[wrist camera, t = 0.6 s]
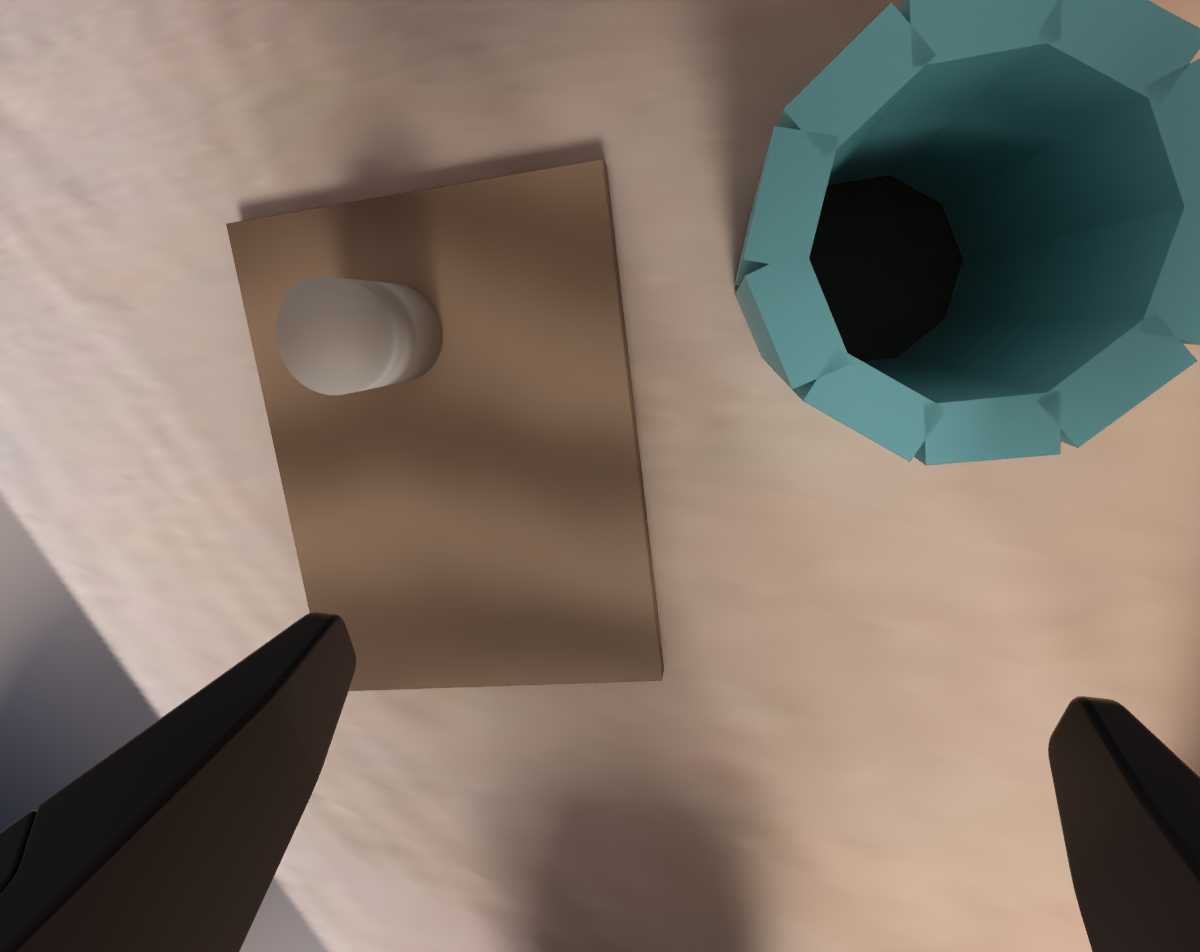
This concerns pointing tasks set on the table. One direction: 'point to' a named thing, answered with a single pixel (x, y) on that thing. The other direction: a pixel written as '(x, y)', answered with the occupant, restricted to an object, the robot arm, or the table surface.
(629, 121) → the table surface
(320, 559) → the peg board
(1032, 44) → the teal collar
